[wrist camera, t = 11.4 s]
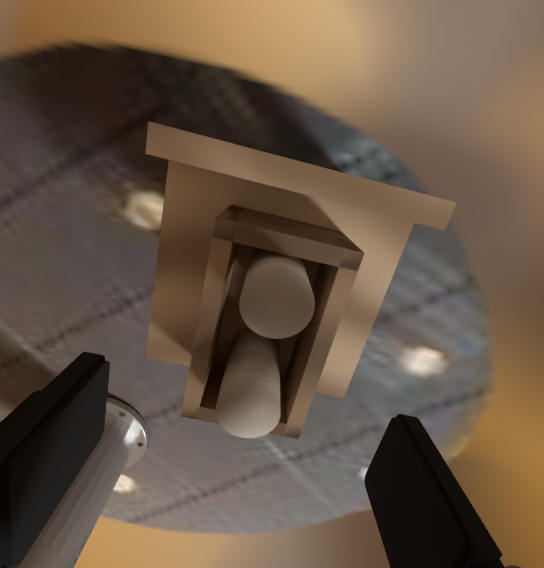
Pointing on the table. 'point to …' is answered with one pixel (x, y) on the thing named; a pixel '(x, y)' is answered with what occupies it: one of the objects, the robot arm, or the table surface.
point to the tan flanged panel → (281, 202)
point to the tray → (227, 316)
